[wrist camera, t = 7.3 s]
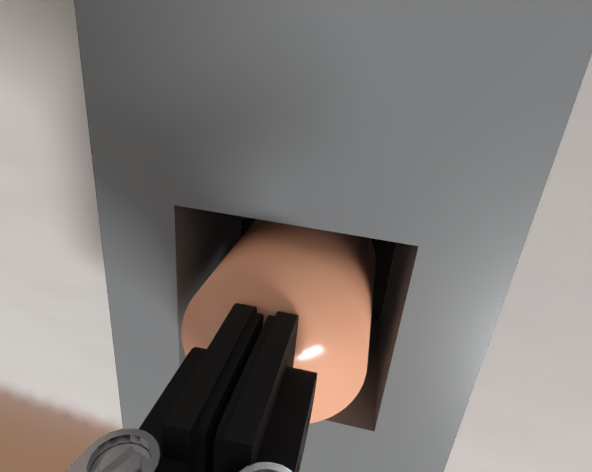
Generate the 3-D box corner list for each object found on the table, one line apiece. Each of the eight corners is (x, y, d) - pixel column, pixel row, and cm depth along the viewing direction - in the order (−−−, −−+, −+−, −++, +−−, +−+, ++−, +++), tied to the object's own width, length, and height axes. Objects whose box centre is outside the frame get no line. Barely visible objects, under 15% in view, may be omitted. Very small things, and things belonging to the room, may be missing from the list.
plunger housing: (658, -467, 9) (1031, -1186, 4) (420, 380, 19) (430, 508, 14) (180, -433, 11) (-31, -908, 5) (192, 331, 21) (123, 429, 16)
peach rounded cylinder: (387, 208, 15) (383, 290, 10) (363, 326, 17) (351, 442, 12) (247, 186, 15) (179, 252, 10) (242, 302, 18) (183, 402, 13)
